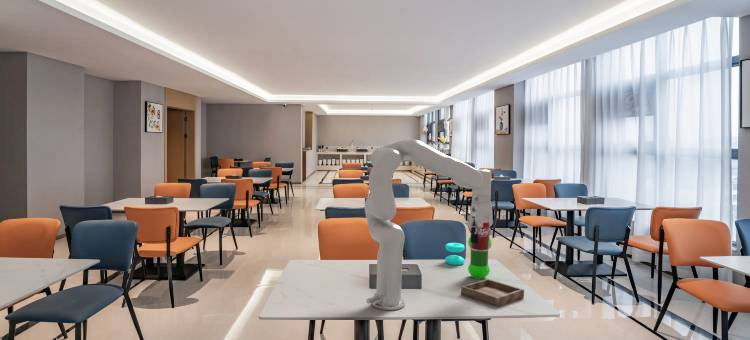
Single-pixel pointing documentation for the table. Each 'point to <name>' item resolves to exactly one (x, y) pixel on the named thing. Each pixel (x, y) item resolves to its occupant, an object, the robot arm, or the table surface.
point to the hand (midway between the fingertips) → (480, 241)
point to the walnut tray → (492, 292)
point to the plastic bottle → (479, 262)
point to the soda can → (482, 238)
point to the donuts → (454, 258)
